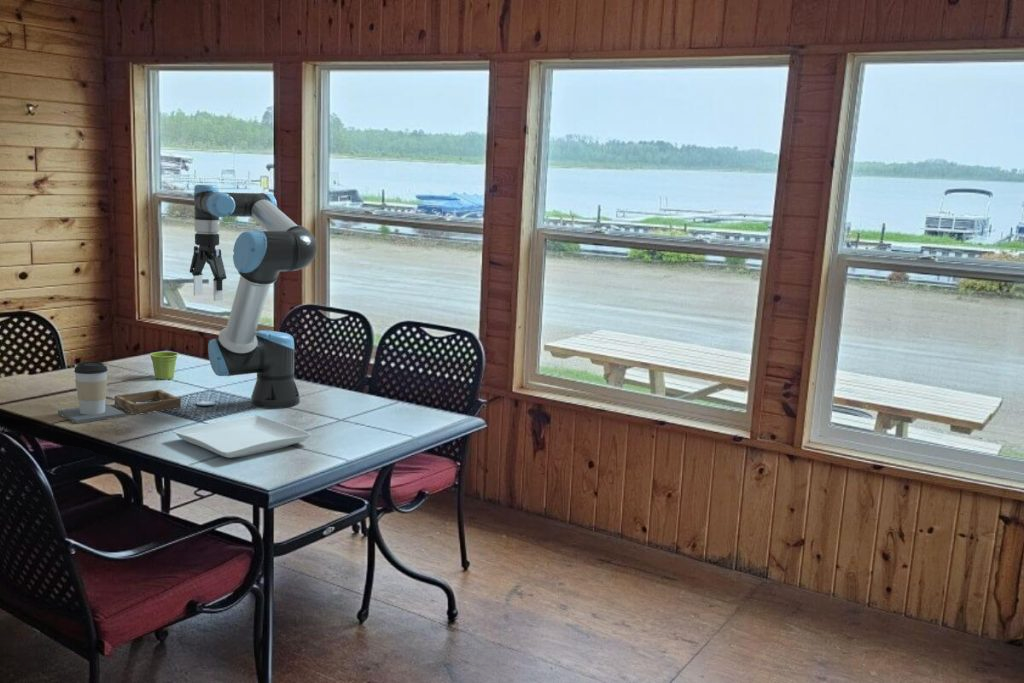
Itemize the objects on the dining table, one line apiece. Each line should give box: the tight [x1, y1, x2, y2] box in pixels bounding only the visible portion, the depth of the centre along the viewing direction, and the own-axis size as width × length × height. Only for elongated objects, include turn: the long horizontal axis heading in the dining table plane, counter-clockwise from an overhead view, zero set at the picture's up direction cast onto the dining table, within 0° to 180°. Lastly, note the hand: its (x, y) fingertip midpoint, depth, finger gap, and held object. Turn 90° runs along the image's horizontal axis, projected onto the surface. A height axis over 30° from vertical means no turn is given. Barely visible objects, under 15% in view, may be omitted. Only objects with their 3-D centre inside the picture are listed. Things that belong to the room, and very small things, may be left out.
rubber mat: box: [57, 403, 126, 424], centre depth 270 cm, size 14×14×1 cm
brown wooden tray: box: [114, 389, 182, 415], centre depth 282 cm, size 14×14×3 cm
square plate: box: [172, 415, 312, 459], centre depth 250 cm, size 27×27×4 cm
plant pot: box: [149, 351, 179, 380], centre depth 320 cm, size 9×9×9 cm
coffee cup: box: [73, 360, 109, 415], centre depth 269 cm, size 9×9×15 cm
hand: (208, 297), depth 298 cm, fingers open, 13 cm apart
